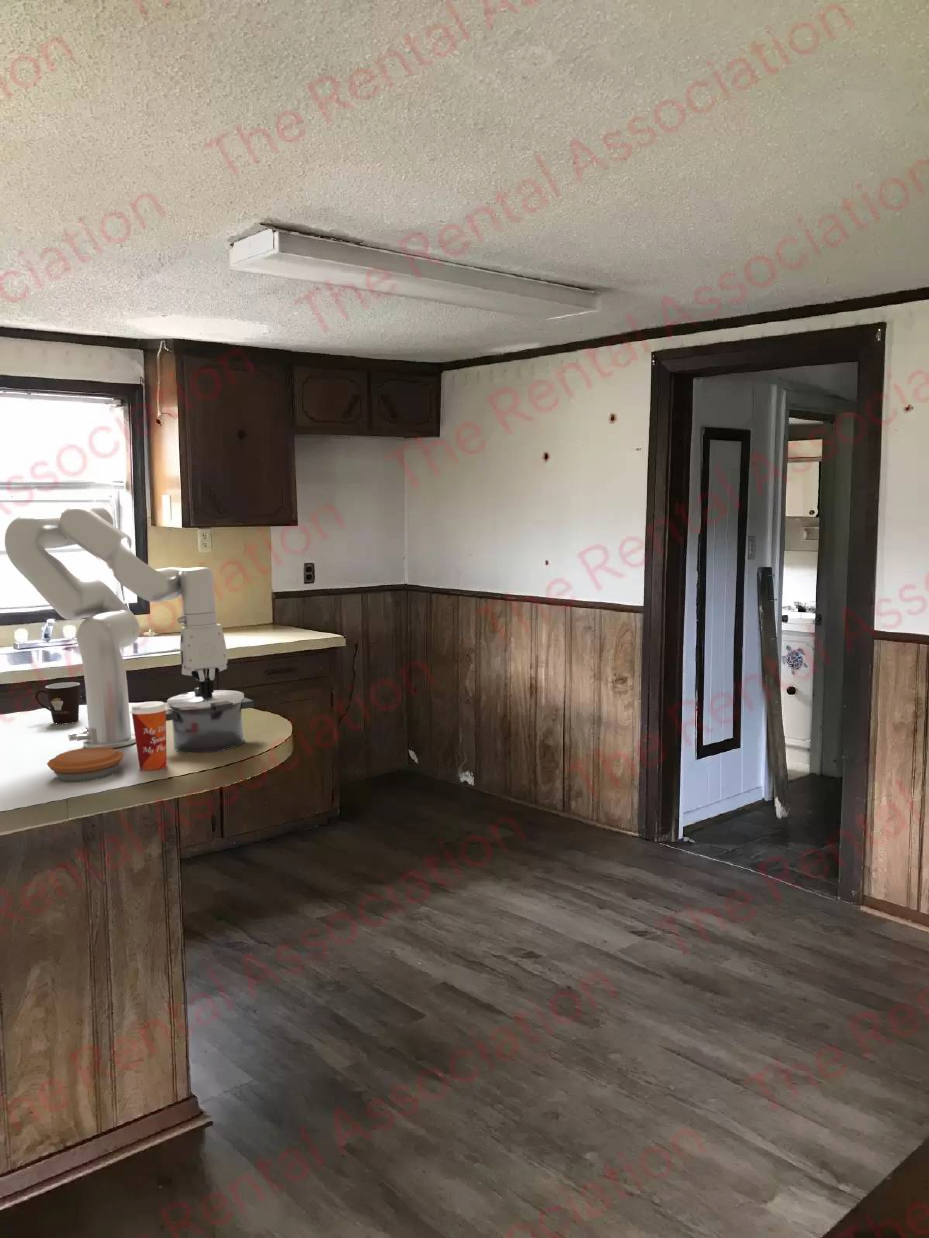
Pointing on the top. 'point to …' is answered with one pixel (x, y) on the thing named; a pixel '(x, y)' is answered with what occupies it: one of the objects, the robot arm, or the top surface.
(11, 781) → the top surface
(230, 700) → the cooker lid
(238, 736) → the cooker pot
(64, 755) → the pie
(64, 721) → the coffee mug
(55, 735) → the top surface
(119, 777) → the top surface
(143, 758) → the paper cup
